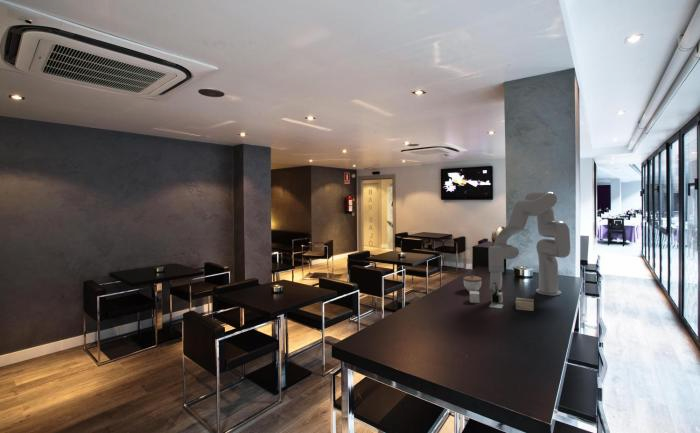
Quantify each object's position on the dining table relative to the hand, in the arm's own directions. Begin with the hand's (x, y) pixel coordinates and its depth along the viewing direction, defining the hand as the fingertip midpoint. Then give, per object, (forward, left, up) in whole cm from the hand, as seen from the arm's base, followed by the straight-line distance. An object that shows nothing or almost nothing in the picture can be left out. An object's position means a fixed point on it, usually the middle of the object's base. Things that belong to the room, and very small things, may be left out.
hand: (496, 299), depth 183 cm
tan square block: (+4, +14, -1) cm, 15 cm away
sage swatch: (+8, +1, -1) cm, 8 cm away
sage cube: (0, 0, -1) cm, 1 cm away
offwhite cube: (+4, -11, -1) cm, 12 cm away
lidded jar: (-17, -17, -1) cm, 24 cm away
